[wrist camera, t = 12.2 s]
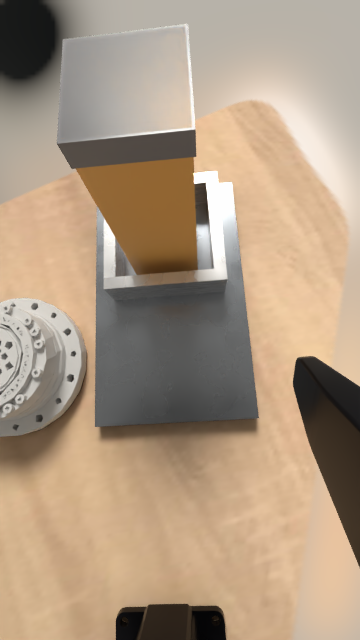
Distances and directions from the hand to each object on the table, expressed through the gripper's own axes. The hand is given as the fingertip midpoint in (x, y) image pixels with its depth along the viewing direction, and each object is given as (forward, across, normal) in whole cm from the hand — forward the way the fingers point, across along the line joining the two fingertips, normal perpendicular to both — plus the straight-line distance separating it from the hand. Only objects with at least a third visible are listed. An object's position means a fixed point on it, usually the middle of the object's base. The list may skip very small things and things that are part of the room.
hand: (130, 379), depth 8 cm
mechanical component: (+12, +12, +8) cm, 18 cm away
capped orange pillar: (+16, 0, +1) cm, 16 cm away
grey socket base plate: (+14, 0, +5) cm, 15 cm away
